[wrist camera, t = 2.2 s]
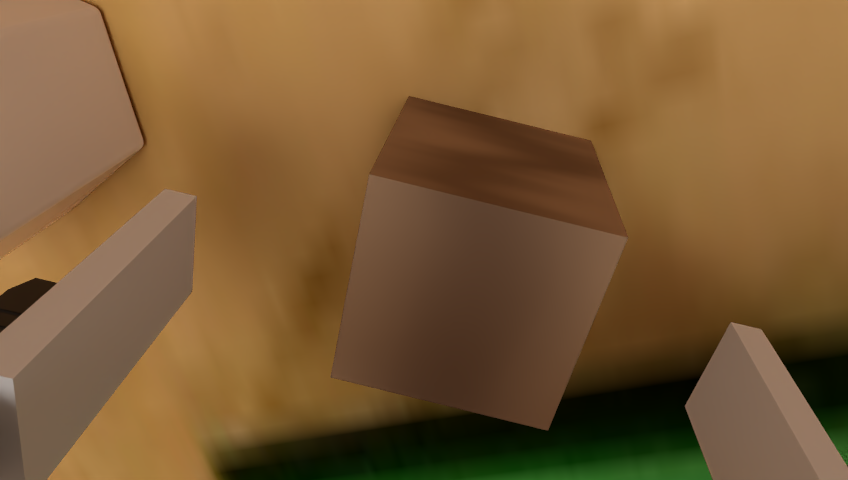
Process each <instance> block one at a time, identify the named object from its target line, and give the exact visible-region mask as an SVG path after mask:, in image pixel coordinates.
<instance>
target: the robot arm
mask: <svg viewBox="0 0 848 480" xmlns="http://www.w3.org/2000/svg"><path fill="white" fill-rule="evenodd" d="M196 201H197V196H194V195H190V194H186V193H181V192H177V191H173V190H169V189H164V190H163V191H162V192H161V193H160V194H158V195H157V196H156V197H155V198H154V199H153V200H152V201H150V202H149V203H148V204H147V205H146V206H145V207H144V208H142V209H141V210H140V211H139V212H138V213H137V214H136V215H134V216H133V217H132V218H131V219H130V220H129V221H128V222H126V223H125V224H124V225H123V226H122V227H121V228H120V229H118V230H117V231H116V232H115V233H114V234H113V235H112V236H110V237H109V238H108V239H107V240H106V241H105V242H104V243H102V244H101V245H100V246H99V247H98V248H97V249H96V250H94V251H93V252H92V253H91V254H90V255H89V256H88V257H86V258H85V259H84V260H83V261H82V262H81V263H80V264H78V265H77V266H76V267H75V268H74V269H73V270H72V271H70V272H69V273H68V274H67V275H66V276H65V277H64V278H62V279H61V280H60V281H59V282H58V283H55V282H51V281H47V280H42V279H38V278H35V279H32V280H30V281H27V282H25V283H23V284H20V285H18V286H15V287H13V288H11V289H8V290H7V291H6V292H4V293H3V294H2V295H1V296H0V480H47V478H48V477H49V476H50V474H51V473H52V472H53V471H54V469H55V468H56V467H57V465H58V464H59V463H60V462H61V460H62V459H63V458H64V456H65V455H66V454H67V452H68V451H69V450H70V449H71V447H72V446H73V445H74V443H75V442H76V441H77V440H78V438H79V437H80V436H81V434H82V433H83V432H84V430H85V429H86V428H87V427H88V425H89V424H90V423H91V421H92V420H93V419H94V418H95V416H96V415H97V414H98V412H99V411H100V410H101V408H102V407H103V406H104V405H105V403H106V402H107V401H108V399H109V398H110V397H111V396H112V394H113V393H114V392H115V390H116V389H117V388H118V386H119V385H120V384H121V383H122V381H123V380H124V379H125V377H126V376H127V375H128V374H129V372H130V371H131V370H132V368H133V367H134V366H135V364H136V363H137V362H138V361H139V359H140V358H141V357H142V355H143V354H144V353H145V352H146V350H147V349H148V348H149V346H150V345H151V344H152V342H153V341H154V340H155V339H156V337H157V336H158V335H159V333H160V332H161V331H162V330H163V328H164V327H165V326H166V324H167V323H168V322H169V320H170V319H171V318H172V317H173V315H174V314H175V313H176V311H177V310H178V309H179V308H180V306H181V305H182V304H183V302H184V301H185V300H186V299H187V297H188V296H189V295H190V293H191V292H192V284H193V263H194V243H195V222H196ZM685 408H686V411H687V413H688V416H689V419H690V421H691V424H692V426H693V429H694V432H695V434H696V437H697V440H698V442H699V445H700V448H701V450H702V453H703V456H704V458H705V461H706V463H707V466H708V469H709V471H710V474H711V477H712V479H713V480H848V465H846V463H845V462H844V460H843V459H842V457H841V455H840V454H839V452H838V451H837V449H836V447H835V446H834V444H833V443H832V441H831V439H830V438H829V436H828V435H827V433H826V431H825V430H824V428H823V427H822V425H821V424H820V422H819V420H818V419H817V417H816V416H815V414H814V412H813V411H812V409H811V408H810V406H809V404H808V403H807V401H806V400H805V398H804V396H803V395H802V393H801V392H800V390H799V388H798V387H797V385H796V384H795V382H794V380H793V379H792V377H791V376H790V374H789V372H788V371H787V369H786V368H785V366H784V364H783V363H782V361H781V360H780V358H779V356H778V355H777V353H776V352H775V350H774V348H773V347H772V345H771V344H770V342H769V340H768V339H767V337H766V336H765V334H764V332H763V331H762V329H758V328H754V327H750V326H745V325H741V324H737V323H733V322H731V323H730V324H729V326H728V328H727V330H726V332H725V334H724V335H723V337H722V339H721V341H720V343H719V345H718V346H717V348H716V350H715V352H714V354H713V356H712V357H711V359H710V361H709V363H708V365H707V367H706V368H705V370H704V372H703V374H702V376H701V377H700V379H699V381H698V383H697V385H696V387H695V388H694V390H693V392H692V394H691V396H690V398H689V399H688V401H687V403H686V405H685Z"/></svg>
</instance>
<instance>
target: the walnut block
mask: <svg viewBox="0 0 848 480" xmlns="http://www.w3.org/2000/svg"><path fill="white" fill-rule="evenodd" d="M627 239H628V236H627V233H626V231H625V228H624V226H623V223H622V220H621V218H620V215H619V213H618V210H617V207H616V205H615V202H614V200H613V197H612V194H611V192H610V189H609V187H608V184H607V181H606V179H605V176H604V174H603V171H602V168H601V166H600V163H599V160H598V158H597V155H596V153H595V150H594V147H593V145H592V142H591V141H590V140H586V139H581V138H577V137H573V136H569V135H565V134H561V133H557V132H553V131H549V130H545V129H541V128H537V127H533V126H529V125H525V124H520V123H516V122H512V121H508V120H504V119H500V118H496V117H492V116H488V115H484V114H480V113H476V112H472V111H468V110H464V109H460V108H455V107H451V106H447V105H443V104H439V103H435V102H431V101H427V100H423V99H419V98H415V97H411V96H409V98H408V99H407V101H406V103H405V105H404V107H403V109H402V111H401V113H400V115H399V117H398V119H397V121H396V123H395V125H394V127H393V129H392V131H391V133H390V135H389V137H388V139H387V141H386V142H385V144H384V146H383V148H382V150H381V152H380V154H379V156H378V158H377V160H376V162H375V164H374V166H373V168H372V170H371V172H370V174H369V178H368V184H367V189H366V194H365V199H364V205H363V210H362V215H361V220H360V226H359V231H358V236H357V241H356V247H355V252H354V257H353V262H352V268H351V273H350V278H349V283H348V289H347V294H346V299H345V304H344V310H343V315H342V320H341V326H340V331H339V336H338V341H337V347H336V352H335V357H334V362H333V368H332V373H331V378H336V379H340V380H344V381H348V382H352V383H356V384H360V385H364V386H368V387H372V388H376V389H380V390H384V391H389V392H393V393H397V394H401V395H405V396H409V397H413V398H417V399H421V400H425V401H429V402H433V403H438V404H442V405H446V406H450V407H454V408H458V409H462V410H466V411H470V412H474V413H478V414H482V415H487V416H491V417H495V418H499V419H503V420H507V421H511V422H515V423H519V424H523V425H527V426H531V427H536V428H540V429H544V430H548V429H549V427H550V424H551V422H552V420H553V417H554V415H555V412H556V410H557V407H558V405H559V403H560V400H561V398H562V395H563V393H564V391H565V388H566V386H567V383H568V381H569V379H570V376H571V374H572V371H573V369H574V367H575V364H576V362H577V359H578V357H579V355H580V352H581V350H582V347H583V345H584V343H585V340H586V338H587V335H588V333H589V331H590V328H591V326H592V323H593V321H594V319H595V316H596V314H597V311H598V309H599V307H600V304H601V302H602V299H603V297H604V295H605V292H606V290H607V287H608V285H609V283H610V280H611V278H612V275H613V273H614V271H615V268H616V266H617V263H618V261H619V259H620V256H621V254H622V251H623V249H624V247H625V244H626V242H627Z"/></svg>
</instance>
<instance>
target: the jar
mask: <svg viewBox="0 0 848 480" xmlns="http://www.w3.org/2000/svg"><path fill="white" fill-rule="evenodd" d="M143 145H144V141H143V137H142V134H141V131H140V128H139V126H138V123H137V120H136V117H135V114H134V111H133V108H132V105H131V102H130V99H129V96H128V93H127V90H126V87H125V84H124V81H123V78H122V75H121V72H120V69H119V66H118V63H117V60H116V57H115V54H114V51H113V49H112V46H111V42H110V39H109V36H108V33H107V30H106V27H105V24H104V21H103V18H102V15H101V13H100V11H99V10H98V9H97V8H96V7H95V6H93V5H90V4H88V3H86V2H84V1H81V0H0V259H2V258H3V257H5V256H6V255H7V254H9V253H10V252H12V251H13V250H15V249H16V248H18V247H19V246H20V245H22V244H23V243H25V242H26V241H28V240H29V239H31V238H32V237H33V236H35V235H36V234H38V233H39V232H41V231H42V230H44V229H45V228H46V227H48V226H49V225H51V224H52V223H54V222H55V221H57V220H58V219H59V218H61V217H62V216H64V215H65V214H67V213H68V212H69V211H71V210H72V209H73V208H74V207H75V206H76V205H77V204H79V203H80V202H81V201H82V200H83V199H84V198H85V197H87V196H88V195H89V194H90V193H91V192H92V191H93V190H95V189H96V188H97V187H98V186H99V185H100V184H101V183H103V182H104V181H105V180H106V179H107V178H108V177H109V176H111V175H112V174H113V173H114V172H115V171H116V170H117V169H119V168H120V167H121V166H122V165H123V164H124V163H125V162H127V161H128V160H129V159H130V158H131V157H132V156H133V155H135V154H136V153H137V152H138V151H139V150H140V149H141V148H142V147H143Z"/></svg>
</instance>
